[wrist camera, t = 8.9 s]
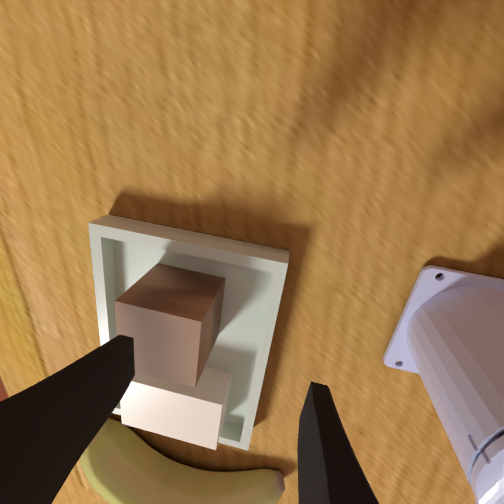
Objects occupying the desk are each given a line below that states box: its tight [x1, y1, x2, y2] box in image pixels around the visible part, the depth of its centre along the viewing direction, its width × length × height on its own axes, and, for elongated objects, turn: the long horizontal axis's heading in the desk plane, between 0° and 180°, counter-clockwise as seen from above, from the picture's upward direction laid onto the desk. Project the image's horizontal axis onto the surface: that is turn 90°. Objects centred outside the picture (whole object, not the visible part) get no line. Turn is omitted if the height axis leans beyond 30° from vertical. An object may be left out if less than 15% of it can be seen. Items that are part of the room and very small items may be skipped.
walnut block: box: [115, 263, 226, 388], centre depth 19 cm, size 5×5×5 cm
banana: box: [80, 418, 285, 504], centre depth 27 cm, size 14×6×20 cm
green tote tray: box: [88, 215, 290, 451], centre depth 22 cm, size 13×18×2 cm
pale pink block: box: [120, 366, 232, 450], centre depth 23 cm, size 8×5×3 cm, turn 82°
